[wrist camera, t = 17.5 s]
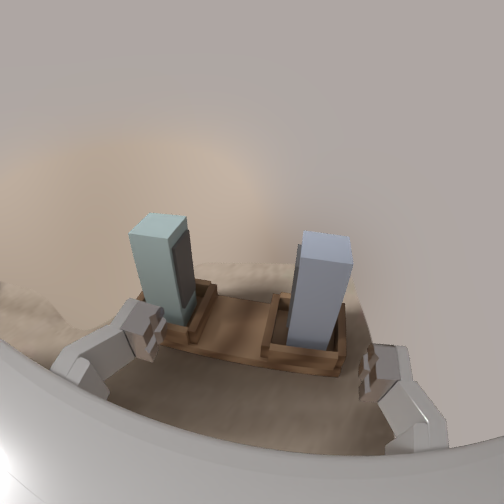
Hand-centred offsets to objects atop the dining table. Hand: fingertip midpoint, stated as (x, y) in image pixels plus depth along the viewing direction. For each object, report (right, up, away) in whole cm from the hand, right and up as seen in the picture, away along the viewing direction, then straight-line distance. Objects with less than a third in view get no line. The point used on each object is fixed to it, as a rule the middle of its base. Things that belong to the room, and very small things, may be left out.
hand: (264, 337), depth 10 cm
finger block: (+7, -8, +25) cm, 27 cm away
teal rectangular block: (-11, -5, +28) cm, 31 cm away
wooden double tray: (-2, -8, +28) cm, 29 cm away
